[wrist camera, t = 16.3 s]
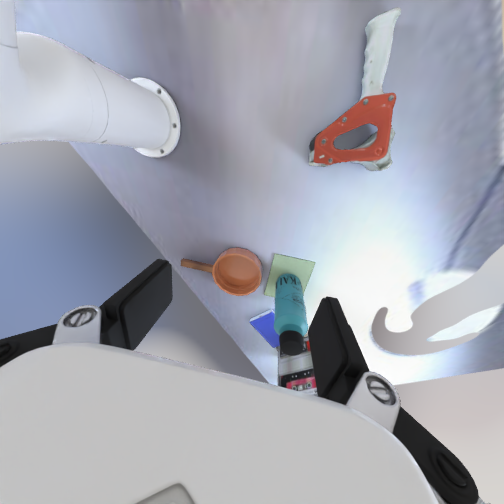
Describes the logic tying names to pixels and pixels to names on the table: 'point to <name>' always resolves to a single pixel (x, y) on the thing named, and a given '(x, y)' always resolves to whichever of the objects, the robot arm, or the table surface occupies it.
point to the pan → (237, 271)
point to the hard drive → (266, 327)
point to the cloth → (288, 271)
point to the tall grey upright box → (297, 371)
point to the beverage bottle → (290, 314)
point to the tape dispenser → (365, 106)
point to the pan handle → (197, 265)
